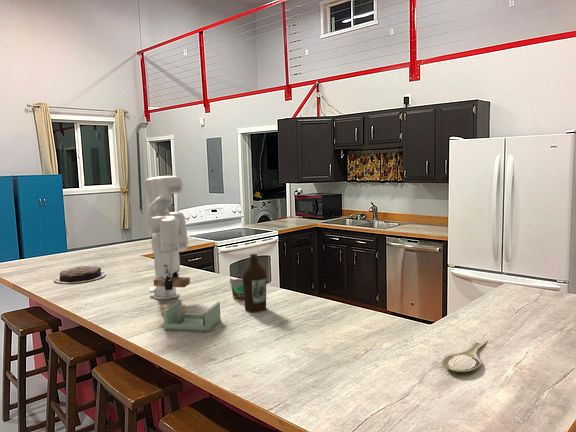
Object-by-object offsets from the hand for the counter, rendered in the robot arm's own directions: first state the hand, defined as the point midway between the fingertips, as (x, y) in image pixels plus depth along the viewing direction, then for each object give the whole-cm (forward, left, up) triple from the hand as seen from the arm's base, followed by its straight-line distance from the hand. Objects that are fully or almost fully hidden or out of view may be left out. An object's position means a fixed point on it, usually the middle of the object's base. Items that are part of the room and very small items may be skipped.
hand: (172, 287), depth 205 cm
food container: (+24, +25, -12) cm, 37 cm away
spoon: (+118, -29, -13) cm, 122 cm away
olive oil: (+34, +10, -12) cm, 38 cm away
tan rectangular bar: (0, -1, -12) cm, 12 cm away
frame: (+14, -13, -12) cm, 23 cm away
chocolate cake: (-85, +55, -13) cm, 102 cm away
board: (0, 0, +1) cm, 1 cm away
